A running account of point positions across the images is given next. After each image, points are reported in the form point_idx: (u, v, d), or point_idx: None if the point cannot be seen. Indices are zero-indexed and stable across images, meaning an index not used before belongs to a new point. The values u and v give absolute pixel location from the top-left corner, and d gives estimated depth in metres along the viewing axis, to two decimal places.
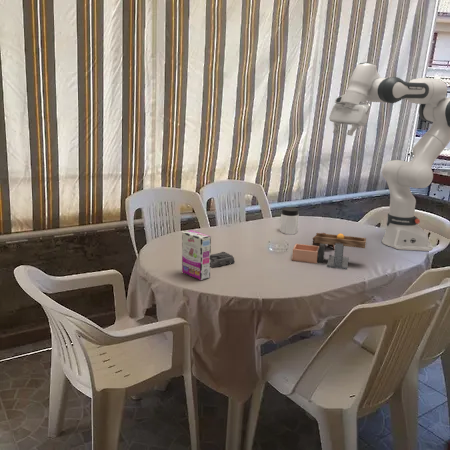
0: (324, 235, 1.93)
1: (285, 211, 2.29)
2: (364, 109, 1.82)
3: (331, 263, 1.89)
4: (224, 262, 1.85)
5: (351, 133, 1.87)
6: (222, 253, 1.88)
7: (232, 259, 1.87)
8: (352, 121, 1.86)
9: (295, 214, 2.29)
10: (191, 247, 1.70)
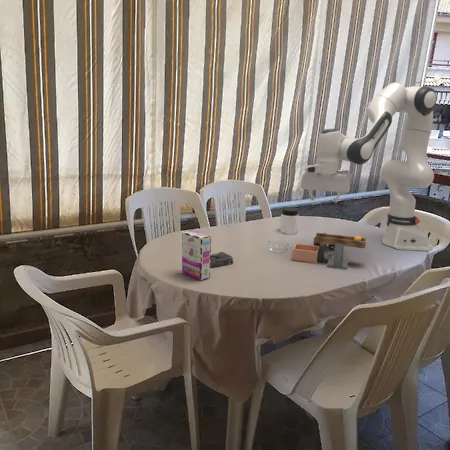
0: (324, 235, 1.93)
1: (285, 211, 2.29)
2: (348, 178, 1.89)
3: (331, 263, 1.89)
4: (222, 262, 1.85)
5: None
6: (221, 253, 1.88)
7: (231, 259, 1.87)
8: (338, 191, 1.91)
9: (295, 214, 2.29)
10: (191, 247, 1.70)
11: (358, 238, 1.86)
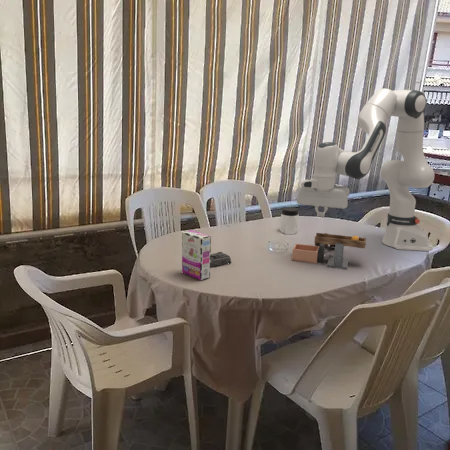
0: (324, 235, 1.93)
1: (285, 211, 2.29)
2: (346, 194, 1.83)
3: (331, 263, 1.89)
4: (220, 262, 1.85)
5: None
6: (219, 253, 1.88)
7: (228, 259, 1.87)
8: (335, 206, 1.85)
9: (295, 214, 2.29)
10: (191, 247, 1.70)
11: (354, 238, 1.86)
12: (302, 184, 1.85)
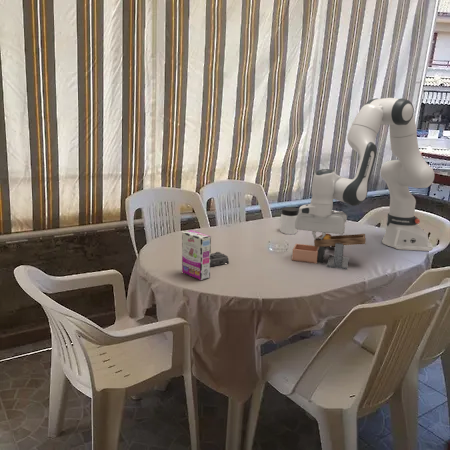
0: None
1: (285, 211, 2.29)
2: (343, 220, 1.86)
3: (331, 263, 1.89)
4: (218, 262, 1.85)
5: None
6: (216, 253, 1.88)
7: (226, 259, 1.87)
8: (333, 232, 1.88)
9: (295, 214, 2.29)
10: (191, 247, 1.70)
11: (324, 238, 1.90)
12: (300, 210, 1.88)
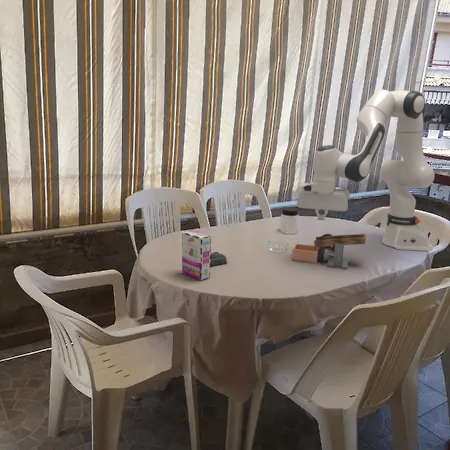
0: (323, 238, 1.94)
1: (285, 211, 2.29)
2: (346, 196, 1.83)
3: (331, 263, 1.89)
4: (216, 262, 1.85)
5: (324, 218, 1.89)
6: (215, 253, 1.88)
7: (224, 259, 1.87)
8: (336, 209, 1.85)
9: (295, 214, 2.29)
10: (191, 247, 1.70)
11: None
12: (302, 188, 1.86)
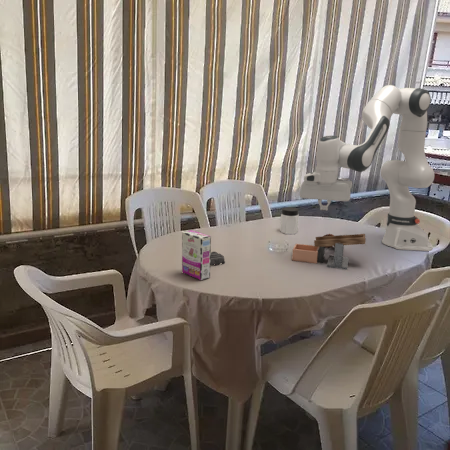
0: (323, 238, 1.94)
1: (285, 211, 2.29)
2: (349, 186, 1.84)
3: (331, 263, 1.89)
4: (213, 262, 1.85)
5: (327, 208, 1.90)
6: (213, 253, 1.88)
7: (222, 259, 1.87)
8: (338, 199, 1.86)
9: (295, 214, 2.29)
10: (191, 247, 1.70)
11: None
12: (305, 178, 1.86)
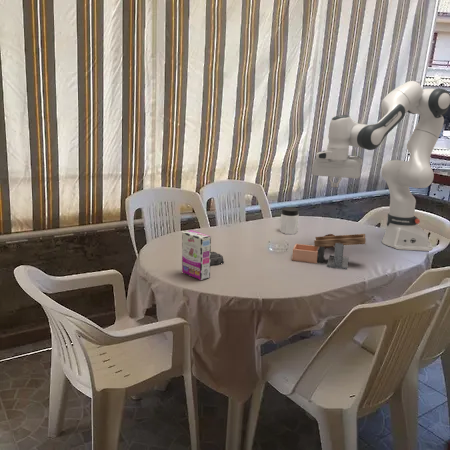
0: (323, 238, 1.94)
1: (285, 211, 2.29)
2: (359, 164, 1.92)
3: (331, 263, 1.89)
4: (212, 262, 1.85)
5: None
6: (212, 253, 1.88)
7: (221, 259, 1.87)
8: (349, 176, 1.94)
9: (295, 214, 2.29)
10: (191, 247, 1.70)
11: None
12: (317, 156, 1.95)
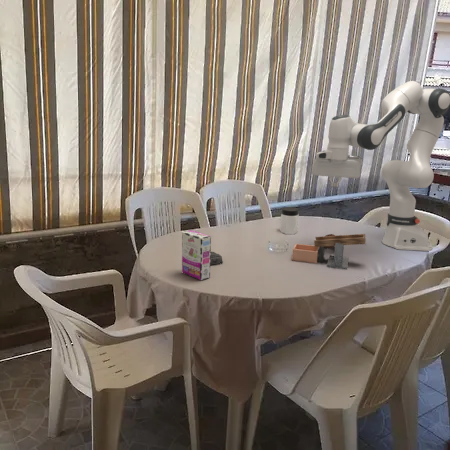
0: (323, 238, 1.94)
1: (285, 211, 2.29)
2: (359, 164, 1.92)
3: (331, 263, 1.89)
4: (211, 262, 1.85)
5: None
6: (211, 253, 1.88)
7: (220, 259, 1.87)
8: (349, 176, 1.94)
9: (295, 214, 2.29)
10: (191, 247, 1.70)
11: None
12: (317, 155, 1.95)
